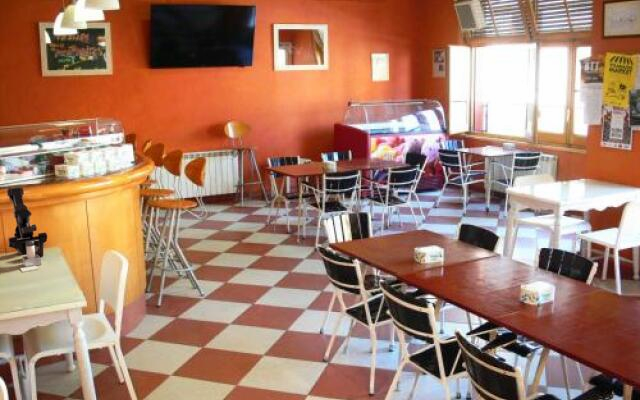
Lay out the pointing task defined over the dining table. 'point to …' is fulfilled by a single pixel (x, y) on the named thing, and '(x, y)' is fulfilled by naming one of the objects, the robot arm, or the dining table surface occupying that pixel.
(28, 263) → the motor housing
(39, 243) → the robot arm
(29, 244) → the salt shaker
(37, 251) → the coffee mug
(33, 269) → the pad
